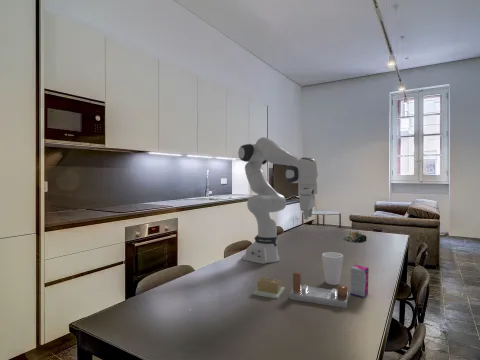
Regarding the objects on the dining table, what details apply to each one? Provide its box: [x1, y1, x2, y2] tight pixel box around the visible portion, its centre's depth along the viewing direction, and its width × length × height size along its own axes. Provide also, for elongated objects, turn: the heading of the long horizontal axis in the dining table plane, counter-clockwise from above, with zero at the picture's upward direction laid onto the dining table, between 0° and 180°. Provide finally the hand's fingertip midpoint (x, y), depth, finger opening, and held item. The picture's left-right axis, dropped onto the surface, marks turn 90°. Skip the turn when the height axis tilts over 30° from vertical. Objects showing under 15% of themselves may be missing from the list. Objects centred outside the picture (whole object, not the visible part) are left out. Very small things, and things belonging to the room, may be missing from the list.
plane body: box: [289, 271, 349, 309], centre depth 122 cm, size 22×10×10 cm, turn 66°
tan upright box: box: [257, 277, 282, 294], centre depth 129 cm, size 9×5×4 cm, turn 66°
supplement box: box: [349, 264, 370, 298], centre depth 126 cm, size 6×6×12 cm
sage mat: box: [252, 286, 286, 300], centre depth 129 cm, size 11×11×1 cm
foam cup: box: [321, 251, 344, 286], centre depth 140 cm, size 10×9×13 cm
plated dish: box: [343, 230, 367, 244], centre depth 230 cm, size 35×28×7 cm
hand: (308, 218), depth 148 cm, fingers open, 8 cm apart
